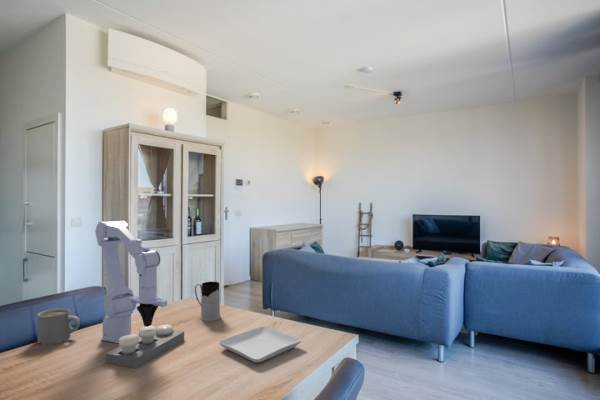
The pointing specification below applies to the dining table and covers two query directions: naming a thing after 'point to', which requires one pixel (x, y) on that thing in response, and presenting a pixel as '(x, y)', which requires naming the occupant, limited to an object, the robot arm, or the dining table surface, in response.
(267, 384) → the dining table surface
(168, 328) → the knob
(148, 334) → the knob
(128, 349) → the knob
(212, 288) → the grey black pitcher
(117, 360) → the mount
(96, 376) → the dining table surface
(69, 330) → the coffee mug
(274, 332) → the salad plate
